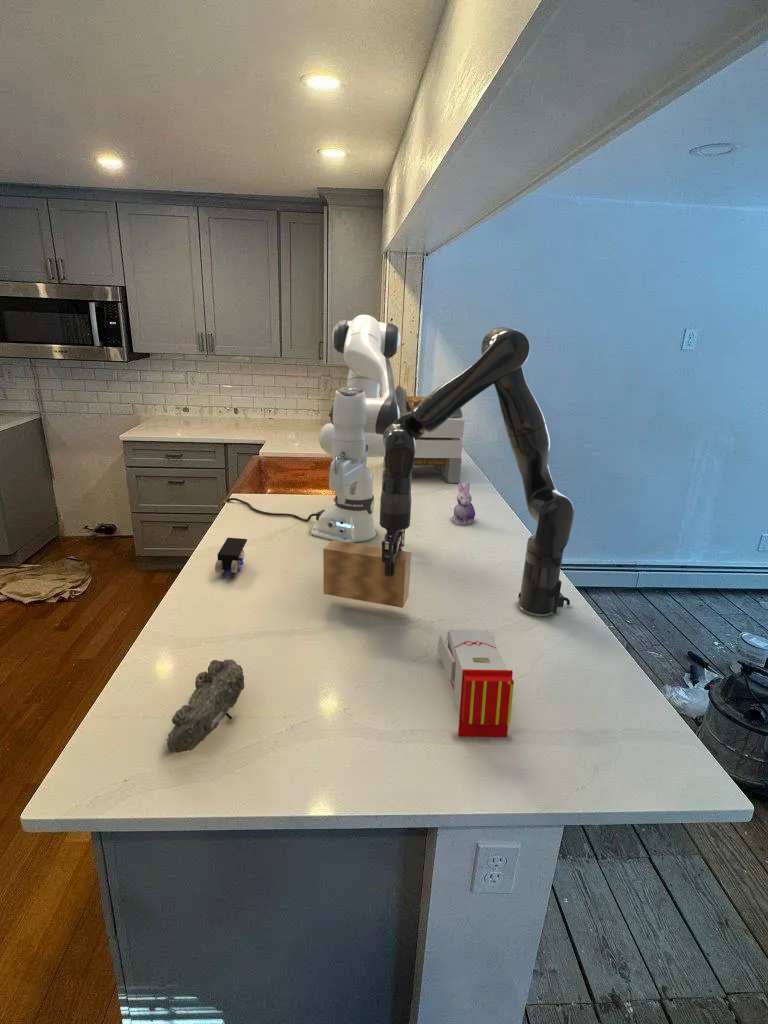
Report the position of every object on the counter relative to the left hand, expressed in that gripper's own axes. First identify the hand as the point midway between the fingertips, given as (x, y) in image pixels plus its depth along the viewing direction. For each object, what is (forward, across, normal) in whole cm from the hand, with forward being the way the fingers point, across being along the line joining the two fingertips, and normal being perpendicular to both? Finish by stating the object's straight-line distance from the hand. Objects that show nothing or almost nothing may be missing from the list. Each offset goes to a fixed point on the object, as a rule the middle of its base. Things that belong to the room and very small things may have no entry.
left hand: (347, 498), depth 156 cm
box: (+22, -13, -10) cm, 27 cm away
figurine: (+23, +63, -25) cm, 71 cm away
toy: (+27, -38, -41) cm, 62 cm away
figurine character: (+25, -4, +34) cm, 42 cm away
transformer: (+20, +122, +5) cm, 123 cm away
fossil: (+27, -62, +5) cm, 68 cm away
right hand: (+13, -13, -17) cm, 25 cm away
